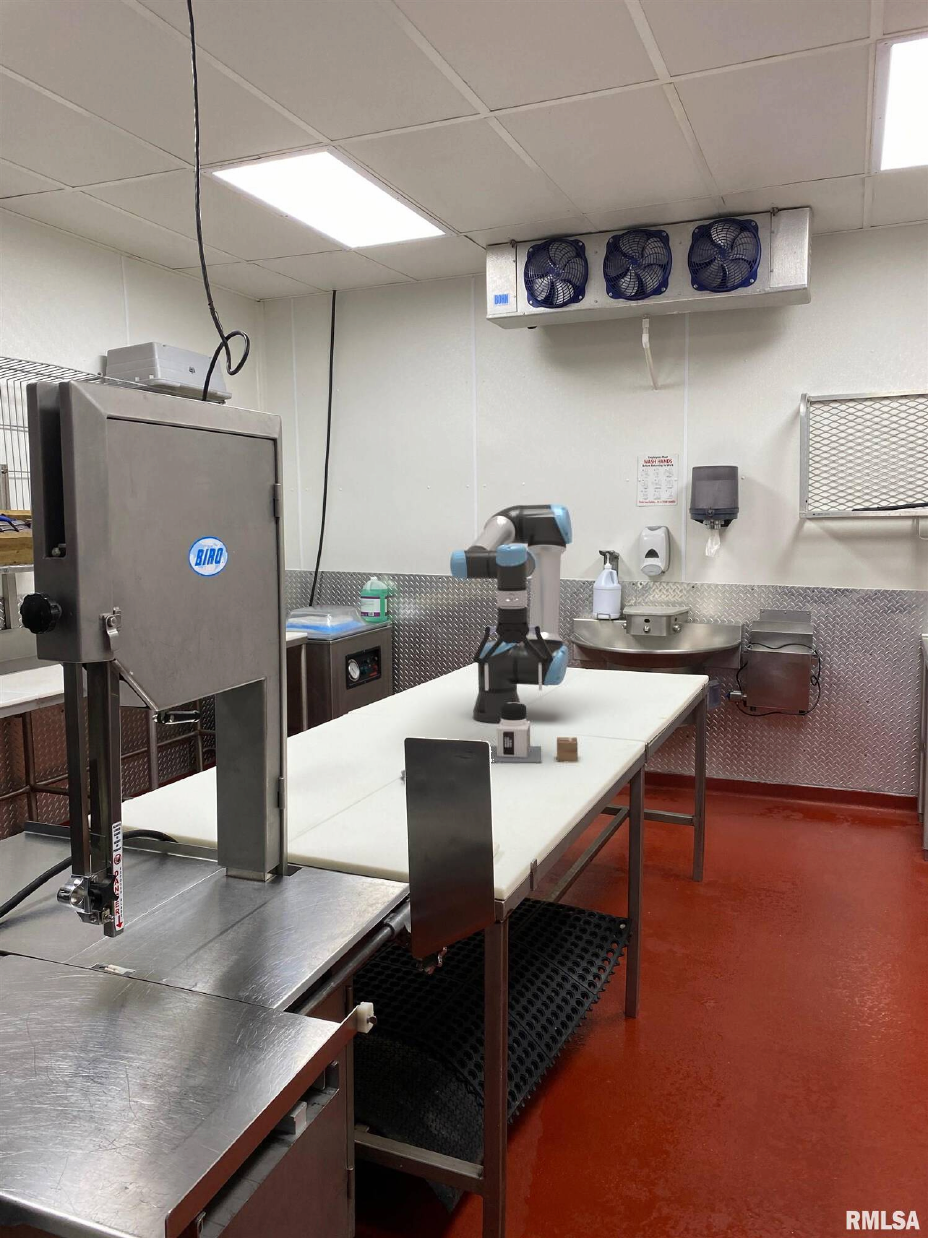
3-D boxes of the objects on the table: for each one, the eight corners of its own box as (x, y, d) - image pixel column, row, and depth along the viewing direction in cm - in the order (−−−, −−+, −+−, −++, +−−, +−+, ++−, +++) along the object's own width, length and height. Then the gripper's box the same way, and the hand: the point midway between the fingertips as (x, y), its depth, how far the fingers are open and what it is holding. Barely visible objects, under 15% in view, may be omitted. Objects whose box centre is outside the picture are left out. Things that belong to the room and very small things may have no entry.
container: (527, 758, 218) (526, 707, 216) (496, 757, 219) (496, 707, 218) (530, 749, 225) (530, 700, 224) (501, 748, 227) (500, 700, 225)
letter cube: (556, 756, 221) (556, 736, 220) (576, 756, 220) (576, 736, 220) (557, 762, 216) (557, 741, 215) (577, 762, 216) (577, 741, 215)
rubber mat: (488, 747, 230) (488, 745, 230) (541, 747, 229) (541, 746, 229) (485, 762, 216) (484, 761, 216) (541, 763, 215) (541, 761, 215)
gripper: (461, 609, 215) (463, 692, 218) (562, 608, 213) (563, 692, 216) (464, 605, 222) (466, 686, 225) (561, 604, 220) (562, 685, 223)
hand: (513, 689), depth 221 cm, fingers open, 13 cm apart
